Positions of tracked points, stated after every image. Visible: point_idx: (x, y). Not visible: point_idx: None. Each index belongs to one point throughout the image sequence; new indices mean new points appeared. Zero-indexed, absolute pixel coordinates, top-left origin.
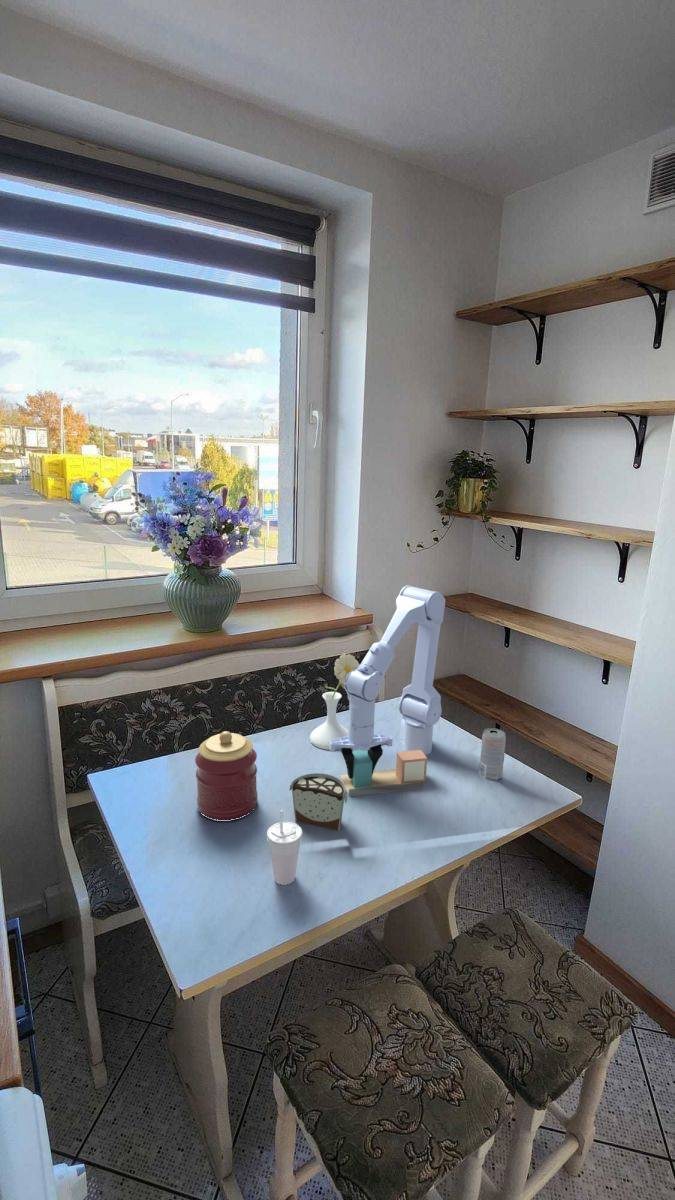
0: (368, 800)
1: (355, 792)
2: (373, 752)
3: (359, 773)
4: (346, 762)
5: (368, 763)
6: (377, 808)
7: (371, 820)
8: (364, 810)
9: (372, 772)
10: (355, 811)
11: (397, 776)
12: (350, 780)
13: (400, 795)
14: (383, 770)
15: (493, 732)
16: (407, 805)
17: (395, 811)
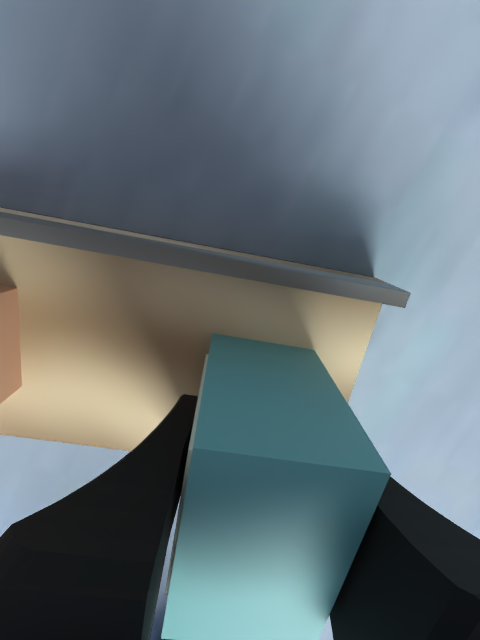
0: (272, 242)
1: (359, 281)
2: (145, 603)
3: (312, 396)
4: (453, 523)
5: (240, 448)
6: (261, 138)
7: (365, 15)
8: (345, 152)
9: (179, 406)
10: (399, 164)
11: (15, 361)
12: None
13: (65, 216)
14: (80, 444)
15: None
16: (57, 86)
17: (165, 50)
